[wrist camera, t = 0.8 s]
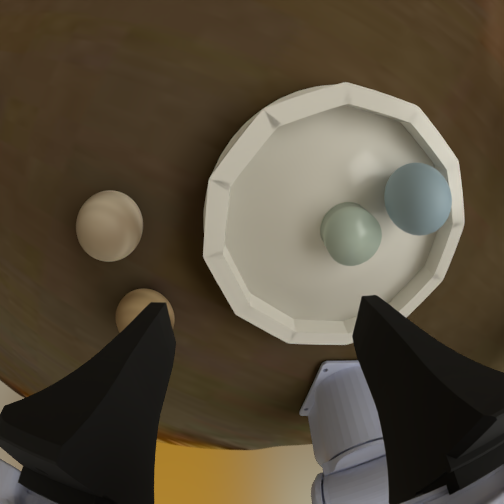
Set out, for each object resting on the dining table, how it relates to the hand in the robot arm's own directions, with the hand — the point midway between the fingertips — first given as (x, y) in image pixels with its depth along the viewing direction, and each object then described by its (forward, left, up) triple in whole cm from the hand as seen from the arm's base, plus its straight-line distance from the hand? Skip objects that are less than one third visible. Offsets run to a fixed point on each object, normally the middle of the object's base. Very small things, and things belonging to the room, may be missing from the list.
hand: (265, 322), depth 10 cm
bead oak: (-7, +7, -10) cm, 14 cm away
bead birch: (0, +9, -10) cm, 13 cm away
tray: (+1, -6, -10) cm, 11 cm away
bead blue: (+4, -9, -9) cm, 13 cm away
